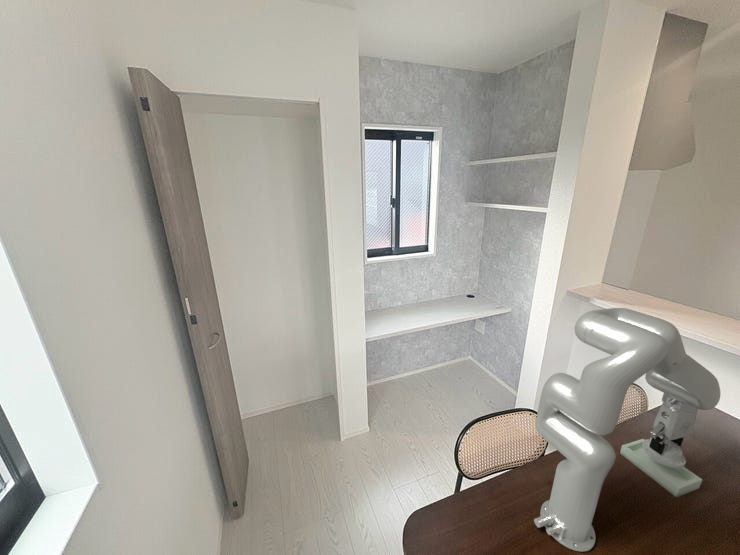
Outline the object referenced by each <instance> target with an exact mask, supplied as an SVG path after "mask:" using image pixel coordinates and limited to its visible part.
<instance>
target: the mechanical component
mask: <svg viewBox="0 0 740 555" xmlns="http://www.w3.org/2000/svg"><path fill="white" fill-rule="evenodd" d="M659 437H660V438H661V439H662V438H663V437H664V436H663V435H659ZM651 439H652V438H651V436H650V438H647V439H644V441H643V444H642V448H643V450H644V452H645V453H646V454H647V455H648V456H649V457H651V458H652V459H654V460H655V461H657V462H659V463H660V464H663V465H665V466H668V467H671V468H682V467H685V466H686V463H687V460H686V458H685V457H686V456H684V454H683V450H682V449H683V448H681V447H680V446H678V444H676V443H674V442H672V441H670V440H669V439H668V438H667V440H666V441H665V443H664V444H665V448H664V451H663V453H662V454H661V455H660V454H658V453H657V452H656V451H654V450H653V449H651V448H650V447H649V446H650V442H651Z"/></svg>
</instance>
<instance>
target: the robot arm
mask: <svg viewBox="0 0 740 555" xmlns="http://www.w3.org/2000/svg"><path fill="white" fill-rule="evenodd" d="M574 333H575V336H576V337H577V339H578V340H579V341H580V342H582V343H584V344H586V345H588V346H589V347H593V348H595V349H597V350H598V351H599V350H600V351H601V352H603V353H605V354H609V356H606V357H604V358H600V359H598V360H595V361H592V362H590V363H588V364H586V365H585V366H584V368H583V370H582V372H581V376H580V379H578V378H576V377H574V376H572V375H571V374H568V373H565V372H557V373H554V374H552V375H551V376H549V378H548V379H547V380H546V382H545V383H544V385H543V386H542V390H541V394H540V399H539V403H538V408H537V414H536V418H535V429H536V431H537V432H536V433H538V434H539V436H540V437H542V438H543V439H544V440H545V441H546V442H547V443H548V444H549V445H551V447H553V448H554V449H556V451H557V452H559V453H560V454H561V455H563V456H564V457H565V458H566V459H563V460H561V461H560V462H559V463H558V464H557V466H556V469H555V474H554V479H553V483H552V488H551V492H550V498H549V499H548V500H546V501H545V502H543V503H542V505H541V507H540V516H539V517H536V518H534V519H533V522H534V524H535V526H536V527H537V528H542V527H544V528H545V531H546V533H547V535H548V536H552V538H553V539H554V540H555V541H557V542H558V543H559V544H560V545H562V546H564V547H566V548H567V549H570V550H572V551H575V552H581V553H582V552H589V551H590V550H591V549H592V548H593V547H594V545H595V543H596V532H595V529H594V526H593V525H592V523H593V519H594V516H595V513H596V509H597V506H598V502H599V498H600V495H601V491H602V489H603V488H602V487H603V485H604V483H605V479H606V477H607V476H608V474H609V473H610V471H611V470H612V468H613V466H614V464H615V462H616V456H617V455H616V452H615V449H614V447H613V446H612V444H611V443H609V441H607V440H606V439H605V438H604V437H603V436H608V435H609V434H612V432H613V431H614V430H615V428H616V426H617V423H618V421H619V418H620V415H621V411H622V409H623V405H624V401H625V399H626V395H627V393H628V390H629V388H630V387H631V386H632V384H633V383H635V382H636V381H637V380H638V379H640V378H641V377H643V376H644V375H645V377H644V379H645V381H646V384H648V385H649V386H650V387H652V388H653V389H655V390H657V391H660V392H662V393H663V395H662V398H661V402H662V404H661V405H660V408H659V410H658V411H657V414H656V416H655V420H654V422H653V426H652V428H653V429H652V430H650V432H649V435H650V437H651V438H652V439H651V442H650V446H649V447H650V448H651V449H653V450H654V451H656V452H657V453H658V454H660V455H661V454H662V453H663V451H664V448H665V444H664V443H665V441H666V440H667V439H669V440H670V441H672V442H674V443H676V444H678V446H680V448H681V447H682V444H683V441H684V438H685V437H687V436H689V435H691V434H692V432H693V430H694V426H695V423H696V422H695V421H696V419H697V415H698V414H697V413H698V411H700V410H701V411H709V410H712V409H714V408H715V407H716V406H717V405H718V403H719V402H720V400H721V388H720V383H719V381H718V378H717V377H716V376H715V375H714V374H713V372H711V371H709V369H707V368H706V367H705V366H703V365H702V364H701V363H699V362H698V361H697V360H696V359H694V358H693V357H692V356H690V355H688V354H687V352H686V349H685V346H684V344H683V342H684V341H683V339H682V336H681V334H680V331H679V329H678V328H677V327H676V326H675V325H674V324H673V323H671V322H670V321H667V320H665V319H662V318H660V317H656V316H653V315H650V314H647V313H644V312H640V311H636V310H633V309H629V308H625V307H613V308H612V307H610V308H603V309H602V308H601V309H596V310H595V309H594V310H590V311H588V312H585V313H583V314H582V315H581V316H579V318H578V319H577V321H576V322H575V325H574ZM662 431H663V432H662ZM660 436H662V437H663V438H662V439H661V438H660Z"/></svg>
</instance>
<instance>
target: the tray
mask: <svg viewBox="0 0 740 555" xmlns="http://www.w3.org/2000/svg"><path fill="white" fill-rule="evenodd" d="M644 440H645V439H644V438H641V439H637V440H635V441H631V442H628V443H625V444H621V448H620V451H619V454H620V455H621V456H623V457H624V458H626V460H628V461H629V462H630V463H632V464H633V465H634V466H635V467H637V468H638V469H640V470H641V471H642V472H643V473H645V475H646V476H649V477H650V478H651V479H652V480H653V481H655V483H657V484H659V485H660V486H661V487H662V488H663V489H665V490H666V491H667V492H669V493H670V494H672V495H673V496H674V497H675V498H679V497H681V496H684V495H685V494H688V493H690V492H693V491H696V490H698V489H700V486H701V485H702V483H703V478H701V477H699V476H698V475H696V473H694V472H692V471H691V470H690V469H688V468H686V467H685V466H684V467H682V468H671V467H668V466H665V465H663V464H660V463H659V462H657V461H655V460H654V459H652V458H651V457H649V456H648V455H647V454H646V453H645V452H644V450H643V448H642V444H643V441H644Z"/></svg>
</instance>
